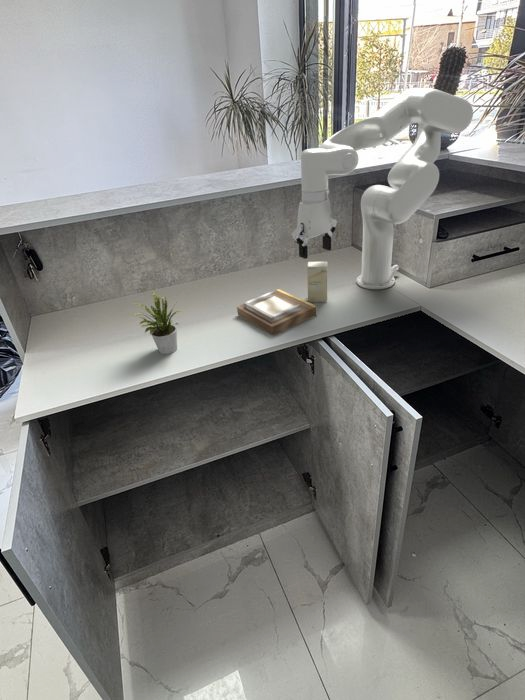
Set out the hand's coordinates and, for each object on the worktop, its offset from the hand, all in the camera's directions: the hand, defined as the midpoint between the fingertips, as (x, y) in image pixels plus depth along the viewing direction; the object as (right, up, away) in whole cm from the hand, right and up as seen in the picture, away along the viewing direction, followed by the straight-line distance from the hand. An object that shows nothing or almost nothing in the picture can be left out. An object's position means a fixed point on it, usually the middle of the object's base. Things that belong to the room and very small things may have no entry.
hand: (315, 253), depth 134 cm
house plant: (-44, -29, -9) cm, 54 cm away
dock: (-12, -19, +2) cm, 22 cm away
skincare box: (+2, -13, +9) cm, 16 cm away
